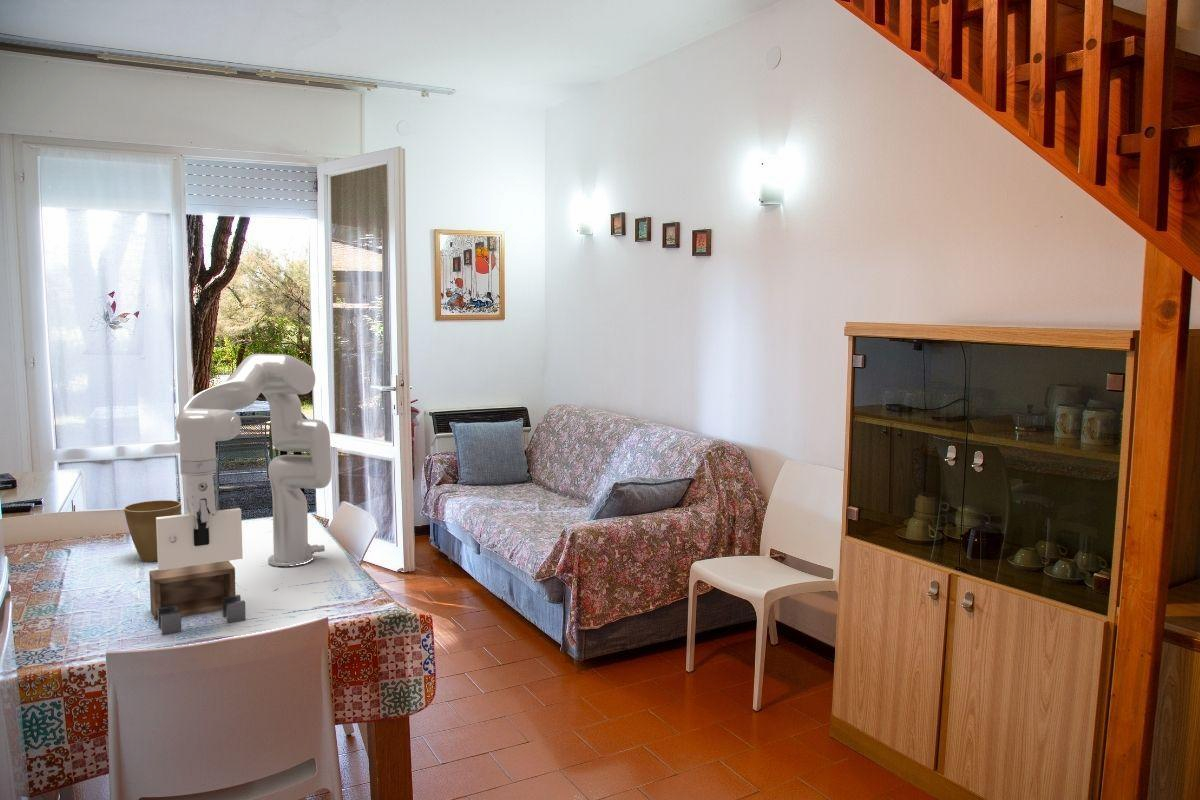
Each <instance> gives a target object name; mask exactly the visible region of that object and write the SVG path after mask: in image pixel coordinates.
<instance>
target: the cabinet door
mask: <svg viewBox="0 0 1200 800" xmlns="http://www.w3.org/2000/svg"><path fill="white" fill-rule="evenodd" d="M198 515H200V514H198ZM198 515H197V516H198ZM198 520H199V519H198ZM242 521H243V520H242V509H241V508H240V507H235V508H229V509H220V510H219V509H218V510H216V514H215V515H214V516H212V515H211V514H210V513H209V512H208V527H209V544H208V545H202V546H195V545H194V529H195V517H194V516H192V515H191V514H190V513H182V514H180V515H173V516H164V517H156V532H157V556H158V561H157V570H159V571H160V570H167V569H174V568H181V567H188V566H195V565H202V564H209V563H216V562H223V561H229V562H230V561H235V560H236V561H237V560H242V559H243V558H244V557H243V531H242V530H243V528H242V527H243V526H242Z"/></svg>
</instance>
